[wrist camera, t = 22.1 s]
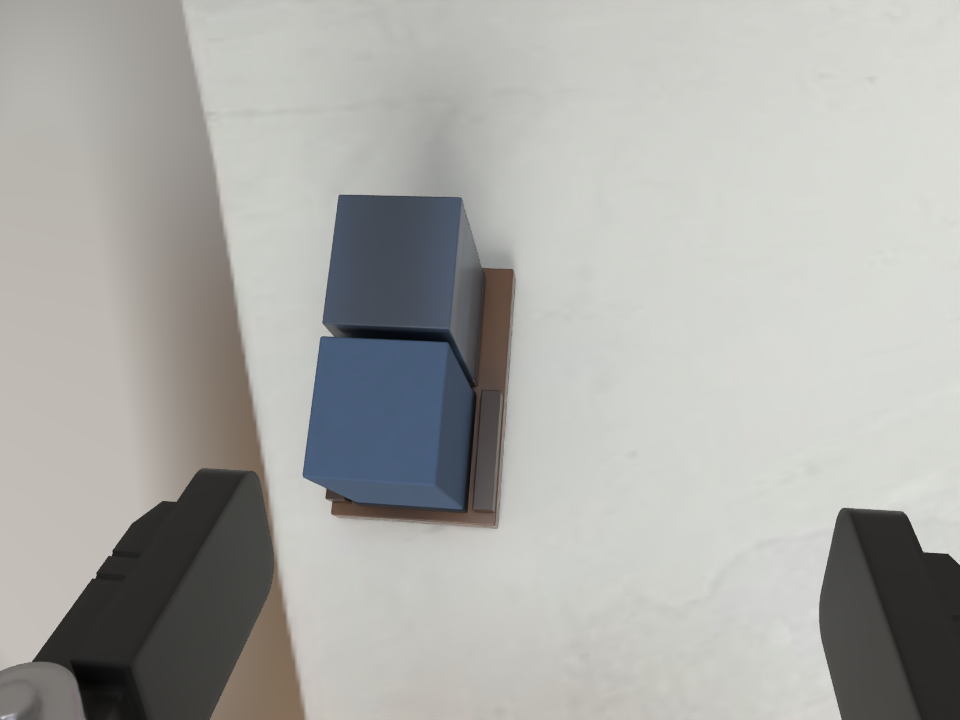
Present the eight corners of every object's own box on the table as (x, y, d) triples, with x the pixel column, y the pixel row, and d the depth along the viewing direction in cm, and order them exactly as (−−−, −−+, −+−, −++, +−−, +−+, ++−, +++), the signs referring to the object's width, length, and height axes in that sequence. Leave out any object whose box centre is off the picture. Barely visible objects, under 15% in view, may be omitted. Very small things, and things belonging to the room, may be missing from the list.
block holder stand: (515, 278, 40) (497, 184, 31) (498, 528, 37) (472, 504, 28) (366, 273, 40) (307, 180, 32) (337, 517, 38) (263, 489, 29)
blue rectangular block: (477, 395, 37) (450, 340, 29) (467, 513, 36) (437, 488, 28) (371, 389, 38) (318, 334, 30) (358, 505, 36) (299, 478, 29)
